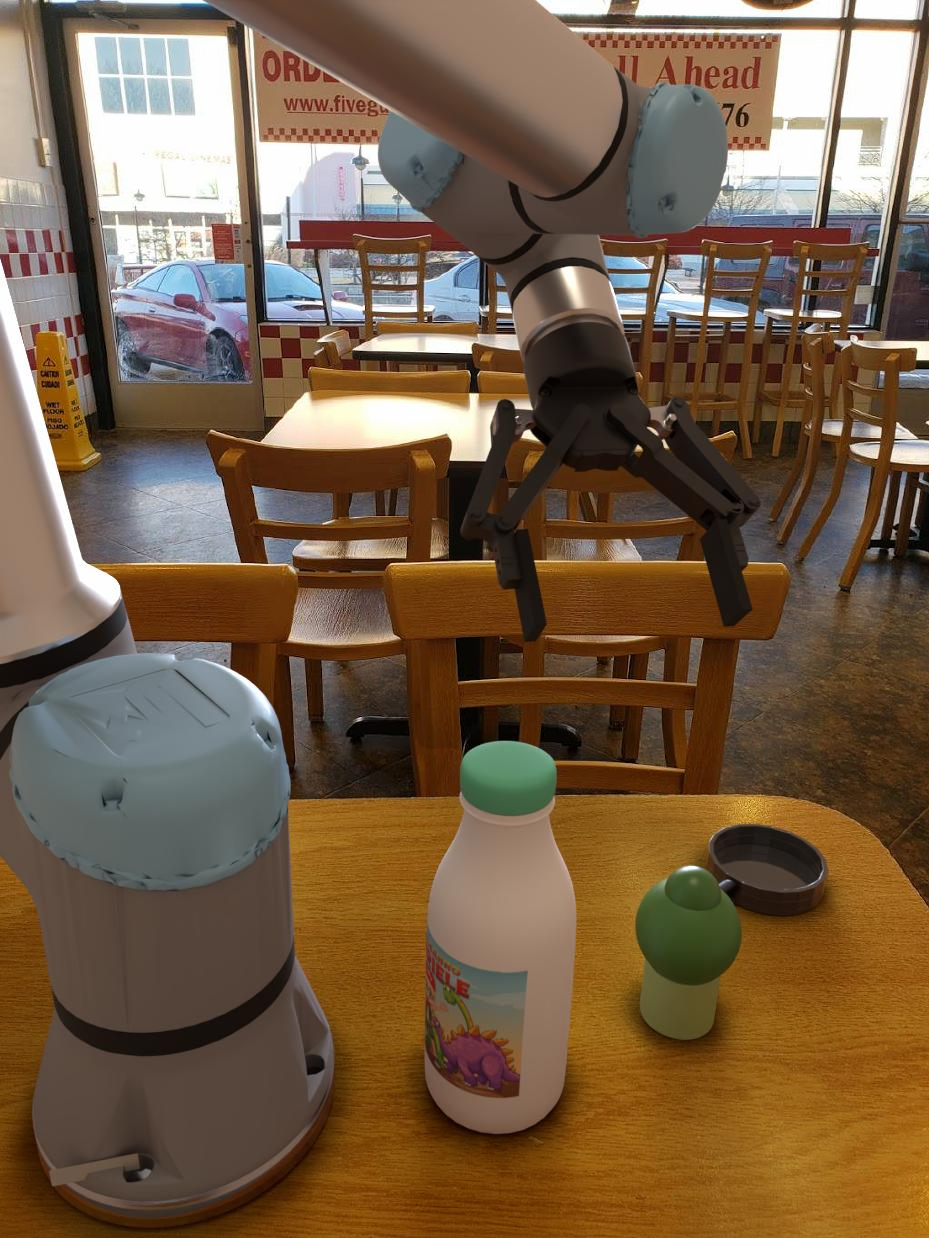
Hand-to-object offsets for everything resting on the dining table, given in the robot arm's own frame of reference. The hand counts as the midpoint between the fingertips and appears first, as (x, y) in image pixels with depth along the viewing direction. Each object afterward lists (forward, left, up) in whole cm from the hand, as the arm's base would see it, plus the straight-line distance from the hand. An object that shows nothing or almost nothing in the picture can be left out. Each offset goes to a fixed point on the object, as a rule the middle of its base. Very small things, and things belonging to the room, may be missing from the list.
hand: (639, 626), depth 59 cm
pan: (+5, +11, -21) cm, 24 cm away
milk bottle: (+6, -17, -21) cm, 28 cm away
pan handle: (+5, +3, -21) cm, 22 cm away
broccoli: (+9, -5, -21) cm, 23 cm away
